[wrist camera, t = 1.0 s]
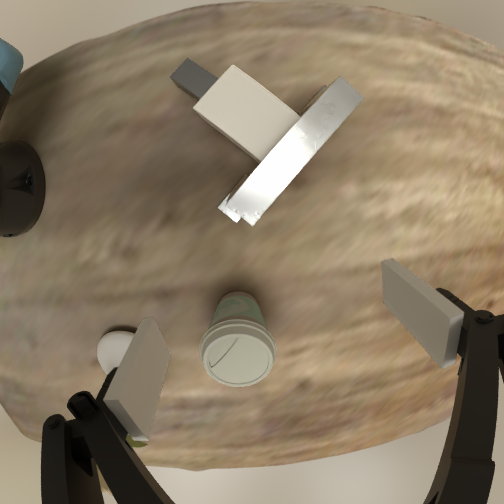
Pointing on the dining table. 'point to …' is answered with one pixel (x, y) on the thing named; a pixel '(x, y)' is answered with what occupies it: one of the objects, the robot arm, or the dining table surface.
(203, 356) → the coffee cup
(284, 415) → the dining table surface
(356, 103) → the bar
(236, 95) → the plug
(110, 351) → the flower in vase
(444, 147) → the dining table surface
